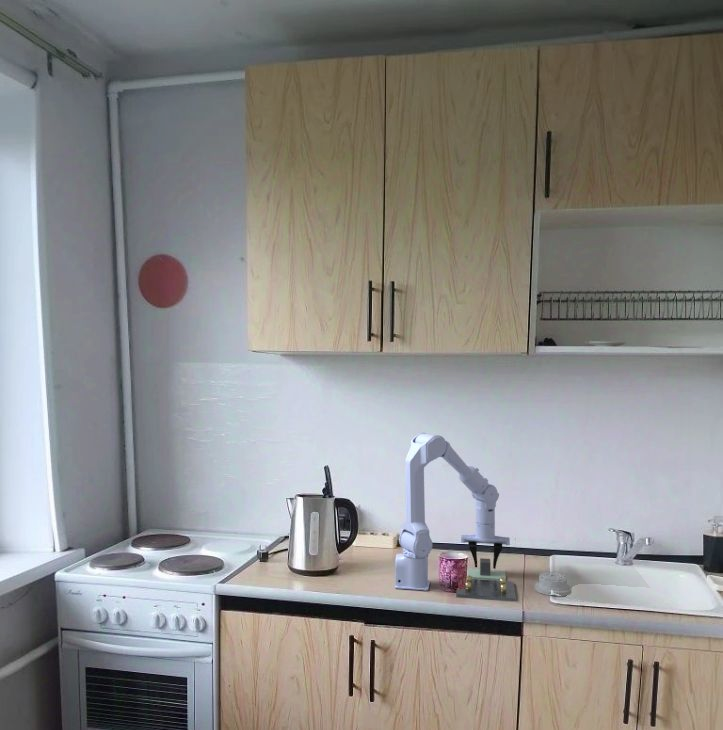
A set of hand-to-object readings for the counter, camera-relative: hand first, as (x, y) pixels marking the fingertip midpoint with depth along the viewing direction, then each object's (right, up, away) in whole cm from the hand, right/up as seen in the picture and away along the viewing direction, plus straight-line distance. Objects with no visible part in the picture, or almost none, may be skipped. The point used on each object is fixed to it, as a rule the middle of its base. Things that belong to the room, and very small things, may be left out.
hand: (485, 567), depth 189 cm
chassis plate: (-3, -2, -14) cm, 14 cm away
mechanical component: (+17, -3, -13) cm, 21 cm away
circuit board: (0, -3, 0) cm, 3 cm away
